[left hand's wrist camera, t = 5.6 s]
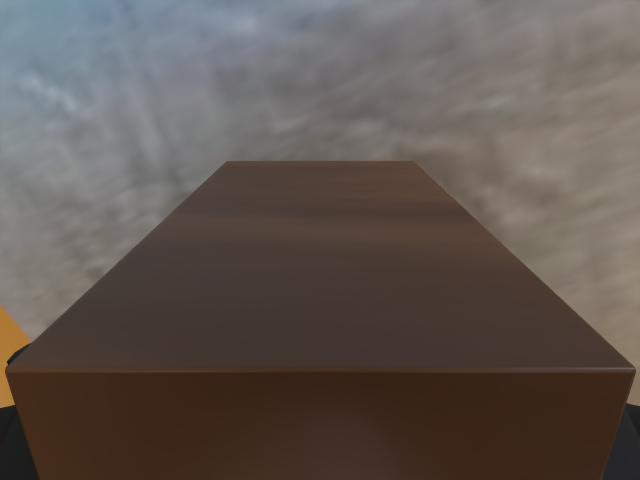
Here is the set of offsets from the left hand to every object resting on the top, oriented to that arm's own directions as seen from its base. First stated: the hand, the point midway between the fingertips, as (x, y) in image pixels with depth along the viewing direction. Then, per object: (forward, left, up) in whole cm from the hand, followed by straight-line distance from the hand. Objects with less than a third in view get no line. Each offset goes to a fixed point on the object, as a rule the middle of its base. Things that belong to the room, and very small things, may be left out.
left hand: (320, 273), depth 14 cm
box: (+10, 0, -1) cm, 10 cm away
